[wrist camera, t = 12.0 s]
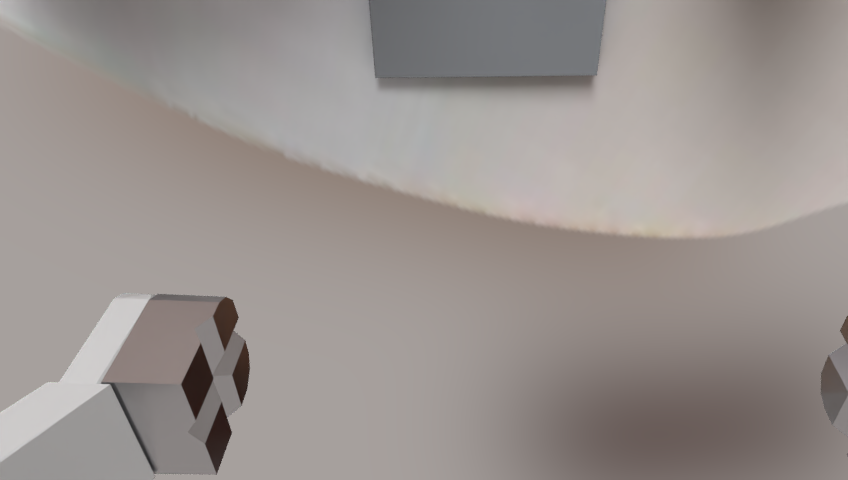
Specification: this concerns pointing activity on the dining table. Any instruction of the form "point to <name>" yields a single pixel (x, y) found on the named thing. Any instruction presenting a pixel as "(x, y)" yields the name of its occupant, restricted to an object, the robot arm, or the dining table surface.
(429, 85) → the dining table surface
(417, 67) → the slate mat
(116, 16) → the dining table surface
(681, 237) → the dining table surface
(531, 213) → the dining table surface
